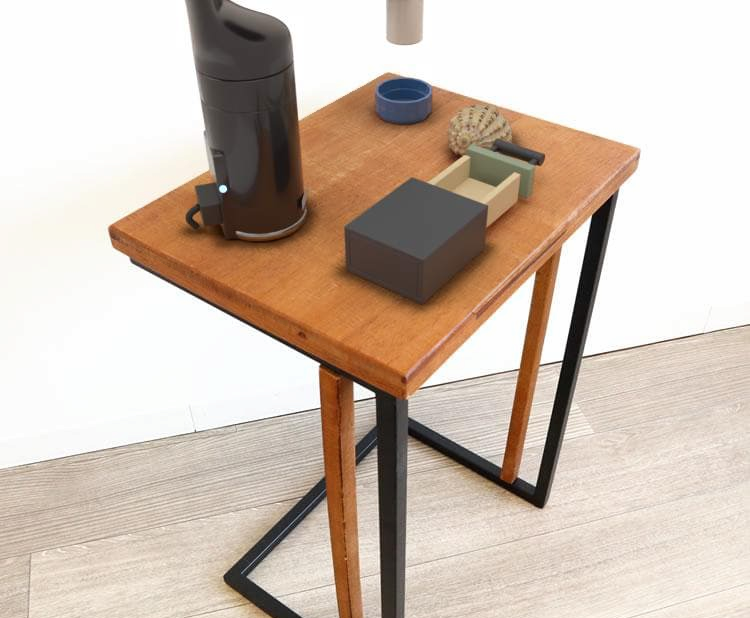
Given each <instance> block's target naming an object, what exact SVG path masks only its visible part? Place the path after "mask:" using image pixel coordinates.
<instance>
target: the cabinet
mask: <svg viewBox="0 0 750 618" xmlns="http://www.w3.org/2000/svg"><path fill="white" fill-rule="evenodd" d="M487 215H488V205H486V204H483V203H480V202H477V201H475V200H472V199H469V198H467V197H464V196H461V195H459V194H456V193H453V192H451V191H448V190H445V189H443V188H440V187H437V186H435V185H432V184H429V183H428V182H426V181H424V180H420V179H418V178H416V177H413V176H411V177H410V178H408V179H407V180H406V181H403V183H402V184H400V185H398V186H397V187H396V188H394V189H393V190H392V191H390V192H389V193H388V194H386V195H385V196H383V198H381V199H379V200H378V201H377V202H375V203H374V204H373V205H371V206H370V207H369V208H367V209H366V210H364V211H363V212H362V213H360V214H359V215H358V216H356V217H355V218H354V219H352V220H351V221H349V222H348V223H347V224H345V225H344V226H343V231H344V253H345V254H344V256H345V271H347V272H349V273H350V274H353V275H355V276H358V277H359V278H362V279H364V280H366V281H368V282H371V283H373V284H374V285H377V286H380V287H381V288H384V289H386V290H389V291H391V292H392V293H394V294H398V295H400V296H402V297H403V298H406V299H408V300H411V301H413V302H415V303H416V304H420V305H423V304H425V303H426V302H427V301H428V300H429V299H430V298H431V297H433V296H434V295H435V294H436V293H437V292H438V291H439V290H441V289H442V287H444V286H445V285H446V284H447V283H448V282H449V281H451V279H453V278H454V277H455V276H456V275H457V274H458V273H459V272H460V271H462V270H463V269H464V268H465V267H466V266H468V264H469V263H471V262H472V261H473V260H474V259H475V258H476V257H478V256H479V254H481V253H482V252H483V251H484V250H485V246H486V244H485V243H486V236H487V228H486V226H487Z"/></svg>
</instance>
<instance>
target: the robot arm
mask: <svg viewBox="0 0 750 618" xmlns="http://www.w3.org/2000/svg"><path fill="white" fill-rule="evenodd" d="M184 4H185V9H186V15H187V21H188V28H189V34H190V41H191V49H192V56H193V63H194V68H195V76H196V81H197V88H198V93H199V100H200V105H201V112H202V118H203V124H204V130H203V139H204V145H205V151H206V157H207V163H208V170H209V175H210V182H209V183H203V184H198V185H194V191H195V197H196V202H197V203H196V204H195V205H194V206H192V207H191V208H189V209H188V210H187V212H186V213H185V222H186V223H187V225H188V226H190V227H191V228H192V229H194V230H195V231H196V230H198V229H200V227H201V225H200V223H198V222H197V221H196V220H195V219H194V218H193V217H194V216H195V215H196V214H197V213H199V214H200V217H201V219H202V223H203V226H204V227H206V228H207V227H211V226H216V225H219V226H220V227H221V230H222V232H223V235H224V238H225V240H228V241H229V240H233V239H237V240H238V239H239V240H243V241H247V242H248V241H249V242H267V241H274V240H279V239H282V238H285V237H288V236H289V235H291V234H293V233H295V232H296V231H298V230H299V229H301V228H302V227H303V225H304V224H305V222H306V220H307V217H308V209H307V203H306V202H307V198H308V186H307V185H306V186H305V183H304V172H303V171H304V170H303V161H302V157H303V156H302V148H301V147H302V146H301V145H302V144H301V135H300V133H301V132H300V122H299V111H298V109H299V108H298V100H297V99H298V98H297V96H298V95H297V85H296V73H295V62H294V61H295V59H294V57H295V56H294V46H293V44H294V43H293V38H292V37H293V36H292V33H291V30H290V29H289V27H288V26H287V24H286V23H285V22H284V21H282V20H281V19H279V18H277V17H276V16H273V15H271V14H268V13H265V12H262V11H259V10H254V9H251V8H249V7H245V6H244V5H240V4H238V3H236V2H235V1H233V0H184Z"/></svg>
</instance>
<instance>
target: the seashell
mask: <svg viewBox="0 0 750 618" xmlns="http://www.w3.org/2000/svg"><path fill="white" fill-rule="evenodd" d="M446 135H447V141H446V143H447V144H448V147H449V149H450V150H452V151H453V153H455V155H456V156H460V157H462V156H464V155H466V149H467V148H468V147H469V146H471V145H475V146H478V147H481V148H484V149H487V150H488V149H490V148H491V147H492V146H493V143H494V141H495V139H497V138H498V139H501V140H504V141H507V142H510V143H513V133H512V126H511V123H510V122H509V120H508V118H507V117H506V116H505V115H502V113H501V112H500V110H499V108H497V107H492V106H491V105H490V104H485V105H482V104H476V103H473V104H471V106H468V107H465V108H461V109H459V110H458V111H457V114H456V115H455V116H453V117H452V118H451V119H450V120H449V126H448V127H447V129H446ZM496 153H499V152H496ZM499 154H502V153H499ZM502 155H503V154H502Z"/></svg>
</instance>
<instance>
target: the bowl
mask: <svg viewBox="0 0 750 618" xmlns="http://www.w3.org/2000/svg"><path fill="white" fill-rule="evenodd" d="M433 90H434V88H433V86H432V85H430V83H429V82H428V81H425V80H423V79H420V78H415V77H409V76H408V77H405V76H403V77H401V76H400V77H393V78H388V79H385V80H383V81H381V82H379V83H378V84H377V85H376V86H375V89H374V110H375V112H376V113H377V115H378V116H379V118H381V119H382V120H383V121H386V122H388V123H391V124H398V125H409V124H410V125H411V124H415V123H420V122H421V121H423V120H426V118H427V117H428V116H429V115H430V114H431V113H432V111H433Z"/></svg>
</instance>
